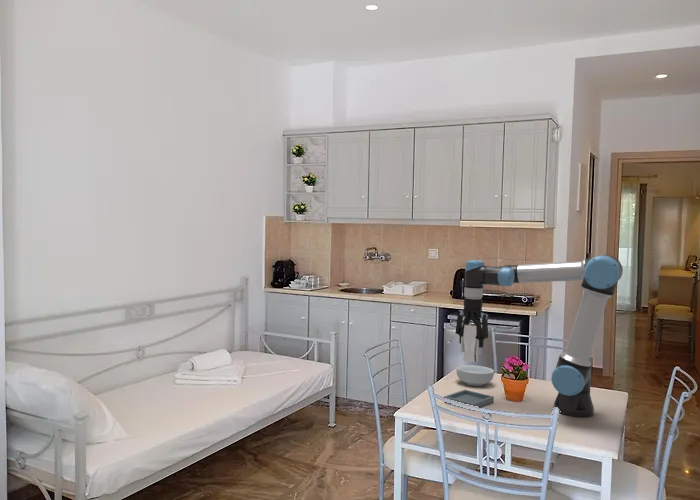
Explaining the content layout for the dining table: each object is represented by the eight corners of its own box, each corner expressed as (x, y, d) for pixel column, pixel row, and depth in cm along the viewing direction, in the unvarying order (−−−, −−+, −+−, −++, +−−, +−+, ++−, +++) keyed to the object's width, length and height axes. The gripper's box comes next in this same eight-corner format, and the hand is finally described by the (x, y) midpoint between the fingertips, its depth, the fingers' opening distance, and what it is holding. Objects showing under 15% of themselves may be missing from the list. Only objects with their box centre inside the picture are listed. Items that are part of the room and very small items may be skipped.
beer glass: (480, 362, 248) (482, 326, 247) (463, 362, 248) (465, 325, 247) (477, 359, 255) (479, 323, 254) (460, 358, 255) (462, 322, 254)
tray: (493, 402, 253) (493, 396, 253) (473, 410, 241) (473, 404, 241) (464, 395, 262) (464, 389, 262) (443, 402, 251) (443, 396, 251)
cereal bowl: (498, 383, 284) (499, 368, 284) (486, 391, 270) (486, 375, 270) (463, 377, 293) (464, 362, 293) (450, 384, 279) (451, 369, 279)
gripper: (499, 300, 246) (496, 356, 247) (457, 294, 259) (455, 348, 260) (490, 301, 240) (487, 359, 242) (447, 295, 254) (445, 350, 255)
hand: (470, 353), depth 251 cm, fingers closed on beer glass, 7 cm apart
